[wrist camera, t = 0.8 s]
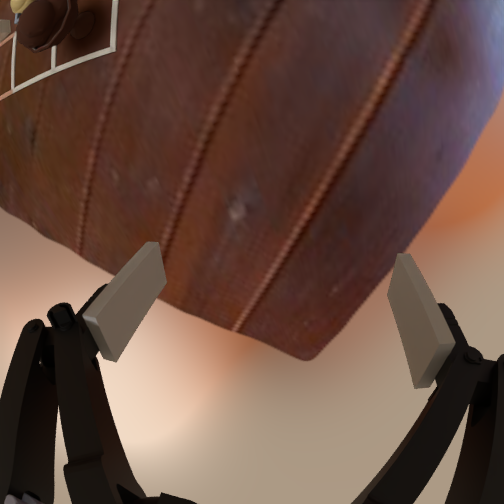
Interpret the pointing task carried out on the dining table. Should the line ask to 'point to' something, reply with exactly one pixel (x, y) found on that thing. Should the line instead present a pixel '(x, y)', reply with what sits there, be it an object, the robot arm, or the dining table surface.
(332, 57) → the dining table surface
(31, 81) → the track
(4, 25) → the die
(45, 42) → the ice cream bowl
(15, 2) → the dome
